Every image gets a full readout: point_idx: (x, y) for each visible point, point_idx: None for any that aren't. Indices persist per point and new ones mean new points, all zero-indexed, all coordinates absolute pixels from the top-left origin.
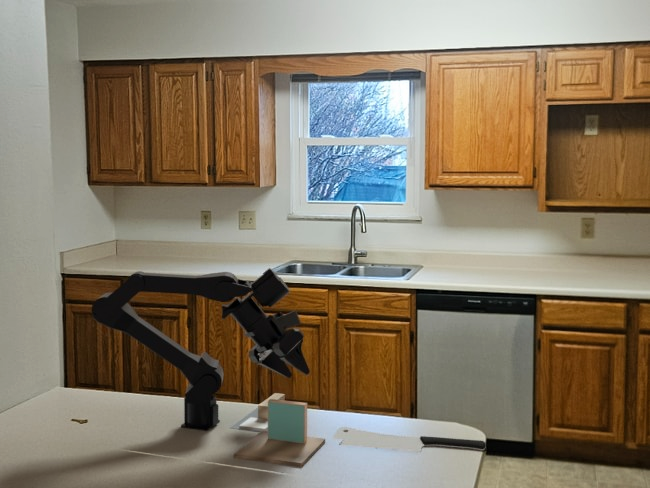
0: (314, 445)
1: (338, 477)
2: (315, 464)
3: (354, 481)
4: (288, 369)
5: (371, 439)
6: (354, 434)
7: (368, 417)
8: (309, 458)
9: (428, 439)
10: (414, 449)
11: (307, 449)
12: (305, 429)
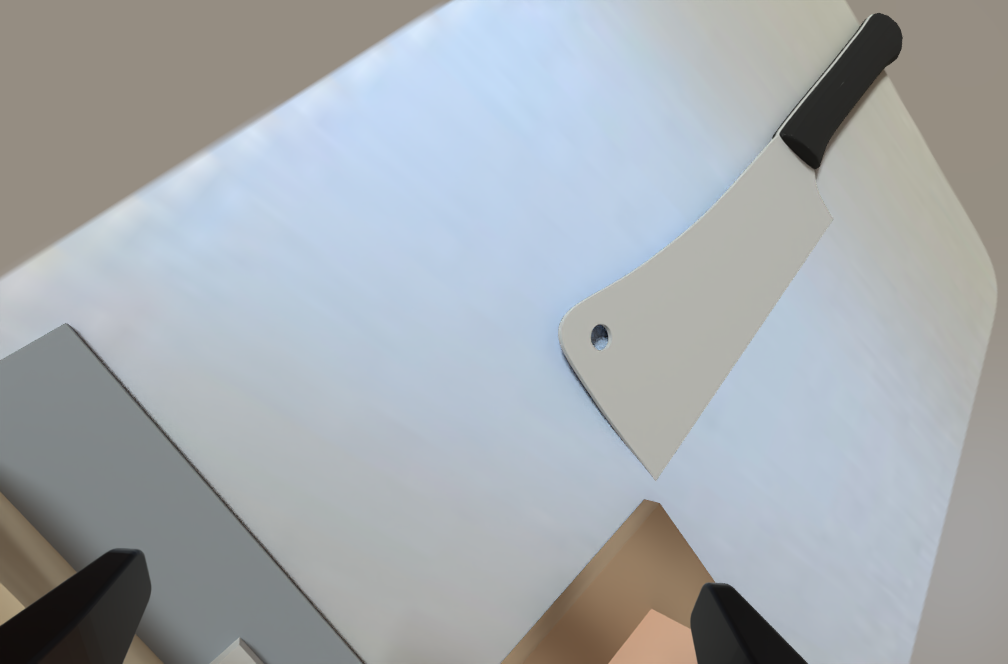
0: None
1: (891, 618)
2: None
3: (923, 582)
4: (67, 637)
5: (708, 297)
6: (645, 327)
7: (446, 67)
8: None
9: (823, 141)
10: (818, 225)
11: None
12: None
